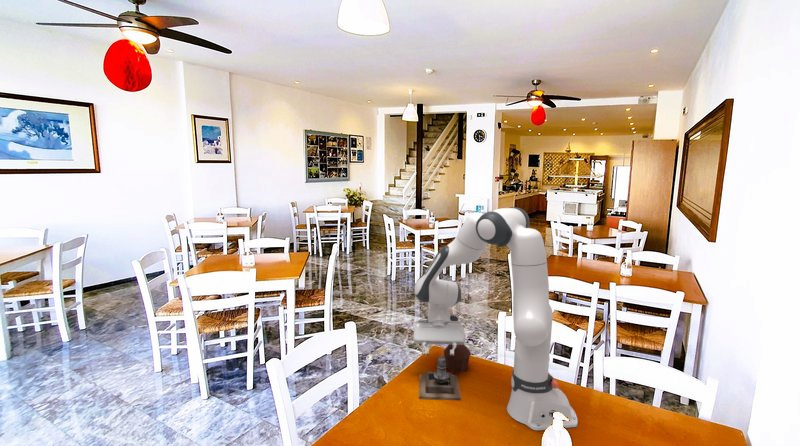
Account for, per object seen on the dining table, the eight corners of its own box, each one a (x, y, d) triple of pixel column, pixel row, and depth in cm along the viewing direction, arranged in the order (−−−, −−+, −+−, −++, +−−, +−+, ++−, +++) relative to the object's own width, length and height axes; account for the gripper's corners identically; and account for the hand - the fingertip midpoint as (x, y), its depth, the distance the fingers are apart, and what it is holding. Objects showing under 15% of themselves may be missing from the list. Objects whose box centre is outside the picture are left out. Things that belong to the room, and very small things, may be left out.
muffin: (442, 359, 170) (443, 338, 169) (468, 360, 170) (468, 338, 168) (444, 374, 158) (445, 351, 157) (472, 375, 158) (472, 351, 156)
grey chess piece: (447, 389, 146) (448, 359, 144) (432, 386, 148) (432, 357, 146) (450, 381, 151) (450, 352, 150) (435, 378, 153) (435, 349, 151)
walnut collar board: (457, 377, 156) (457, 369, 155) (460, 400, 141) (461, 391, 140) (419, 376, 157) (419, 368, 156) (419, 398, 142) (419, 389, 141)
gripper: (412, 316, 155) (412, 351, 147) (464, 317, 154) (466, 352, 146) (413, 322, 160) (412, 356, 152) (463, 323, 159) (465, 358, 151)
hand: (439, 354), depth 149 cm, fingers open, 8 cm apart
